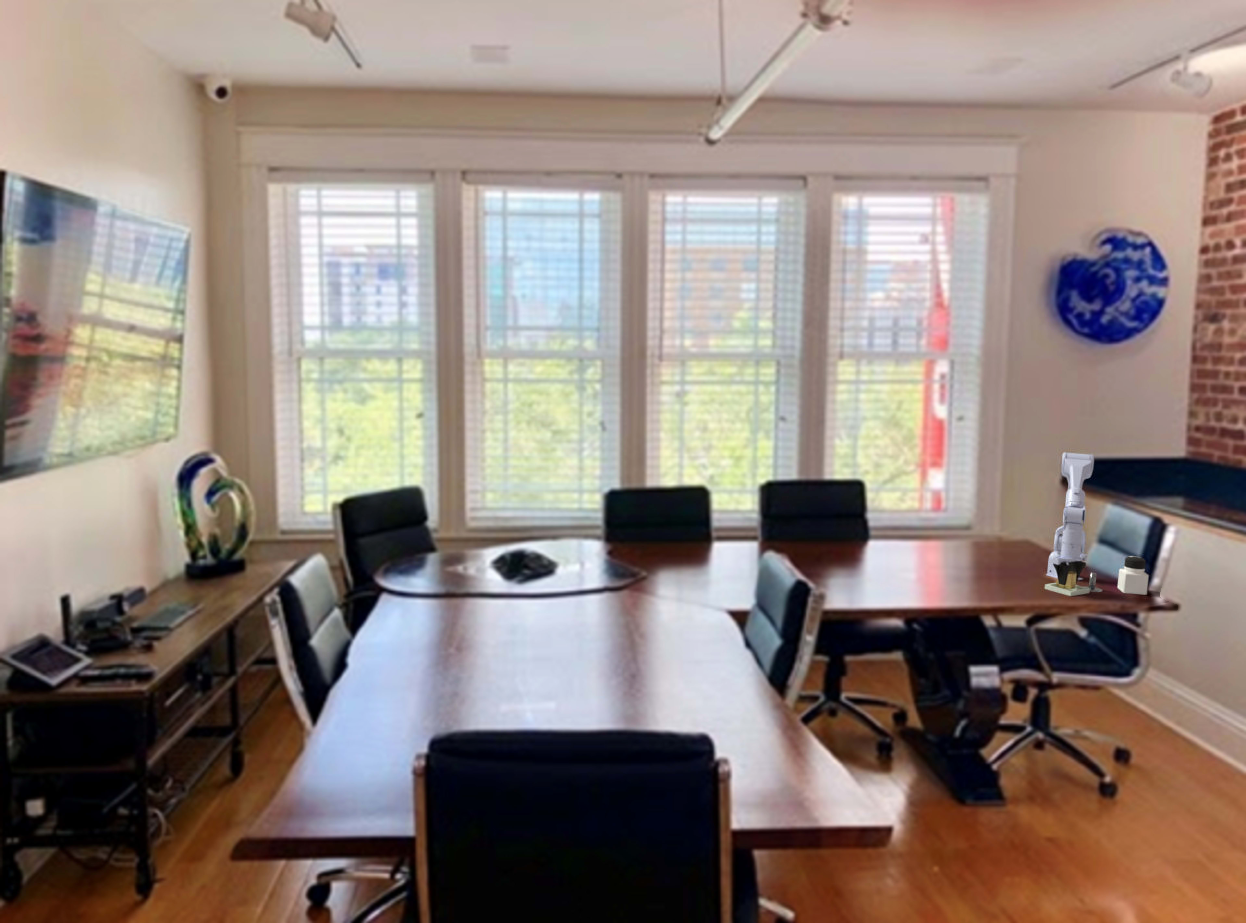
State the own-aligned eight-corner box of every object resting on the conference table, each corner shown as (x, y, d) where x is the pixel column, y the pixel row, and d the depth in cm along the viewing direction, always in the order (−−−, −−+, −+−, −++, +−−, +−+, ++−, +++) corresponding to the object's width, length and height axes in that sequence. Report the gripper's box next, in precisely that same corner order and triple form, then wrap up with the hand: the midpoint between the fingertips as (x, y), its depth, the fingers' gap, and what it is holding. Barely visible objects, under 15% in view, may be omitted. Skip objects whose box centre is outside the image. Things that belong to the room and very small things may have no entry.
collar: (1068, 589, 314) (1069, 574, 314) (1052, 585, 320) (1053, 570, 319) (1078, 588, 317) (1079, 573, 316) (1062, 584, 322) (1063, 569, 322)
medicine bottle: (1146, 596, 316) (1150, 560, 314) (1123, 594, 318) (1127, 559, 316) (1139, 590, 323) (1143, 555, 321) (1116, 589, 324) (1120, 554, 323)
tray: (1044, 590, 320) (1045, 584, 319) (1063, 587, 324) (1063, 581, 324) (1070, 597, 311) (1070, 591, 311) (1089, 594, 316) (1089, 588, 316)
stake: (1076, 589, 322) (1078, 571, 321) (1089, 587, 325) (1090, 570, 324) (1094, 594, 317) (1096, 576, 316) (1106, 592, 320) (1108, 574, 319)
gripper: (1067, 547, 309) (1063, 588, 311) (1096, 543, 316) (1092, 584, 318) (1048, 543, 315) (1045, 583, 317) (1077, 539, 322) (1073, 579, 324)
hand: (1067, 583), depth 317 cm, fingers closed on collar, 5 cm apart
